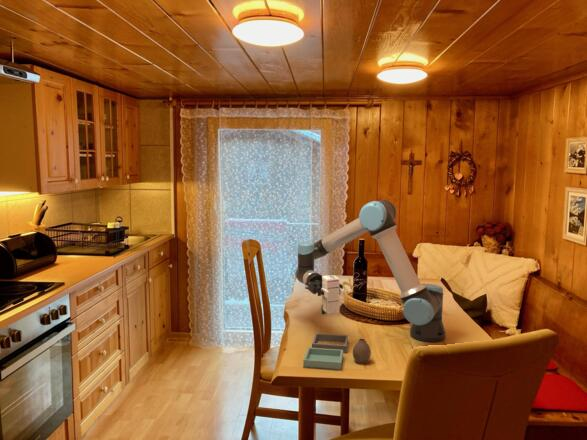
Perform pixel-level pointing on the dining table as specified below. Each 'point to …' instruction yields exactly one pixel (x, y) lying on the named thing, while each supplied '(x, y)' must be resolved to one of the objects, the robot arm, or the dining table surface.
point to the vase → (361, 351)
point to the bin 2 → (323, 359)
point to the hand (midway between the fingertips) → (336, 294)
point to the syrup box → (331, 294)
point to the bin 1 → (331, 339)
